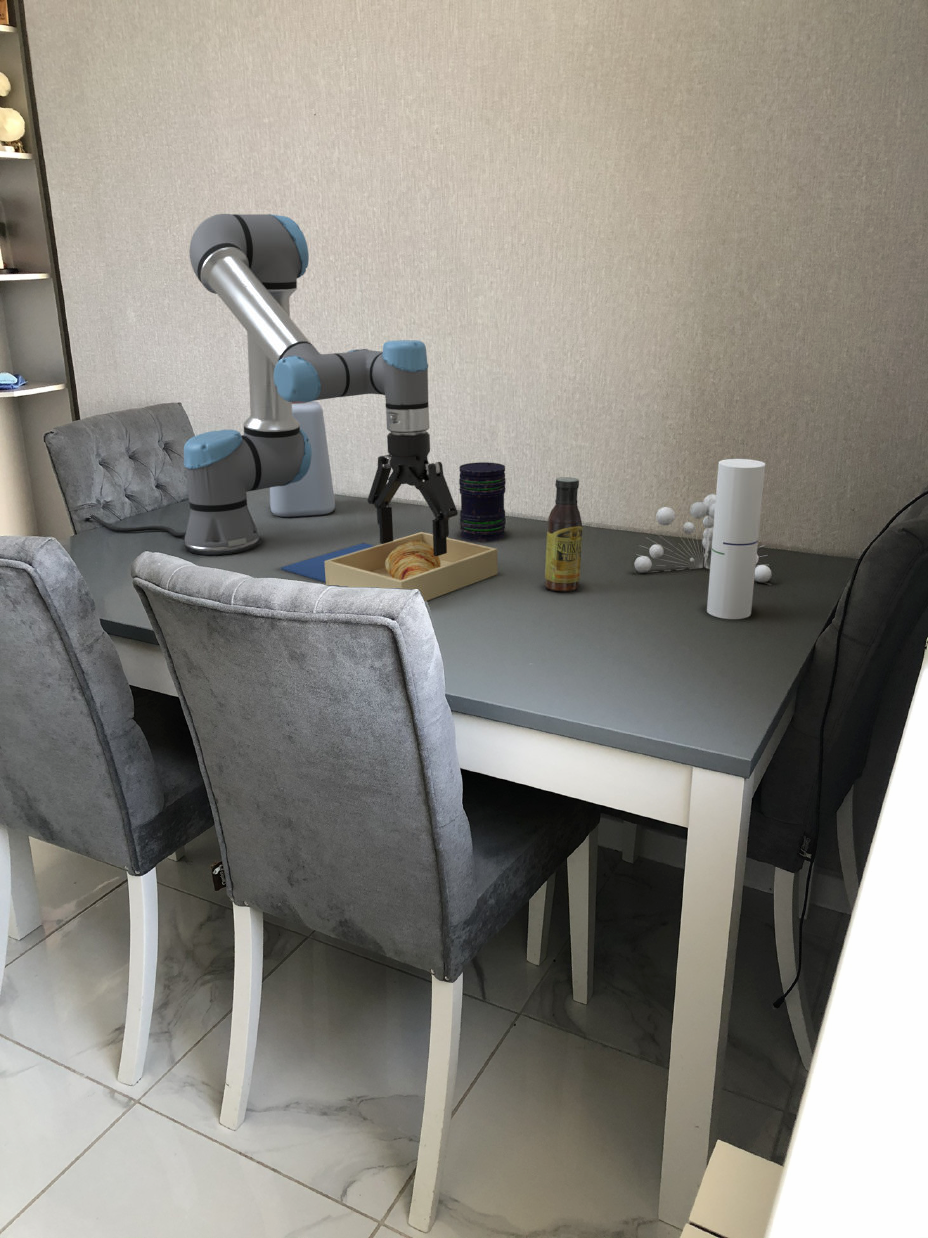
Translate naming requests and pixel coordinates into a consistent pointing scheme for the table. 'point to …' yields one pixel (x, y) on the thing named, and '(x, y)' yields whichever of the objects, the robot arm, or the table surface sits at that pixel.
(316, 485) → the plastic bottle
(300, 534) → the table surface
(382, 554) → the wooden tray
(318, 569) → the cloth mat
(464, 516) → the storage jar
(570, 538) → the sauce bottle
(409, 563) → the croissant
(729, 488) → the cylindrical container
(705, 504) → the decorative flower
